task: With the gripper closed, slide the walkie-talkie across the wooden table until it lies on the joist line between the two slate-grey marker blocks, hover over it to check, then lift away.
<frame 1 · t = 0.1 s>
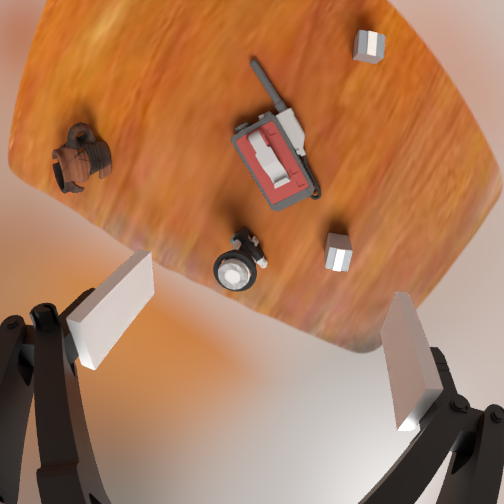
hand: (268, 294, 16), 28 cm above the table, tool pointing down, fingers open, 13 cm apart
push button: (252, 245, 46), on the table
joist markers: (353, 149, 38), on the table
pottery mug: (91, 154, 45), on the table
walkie-talkie: (270, 136, 40), on the table
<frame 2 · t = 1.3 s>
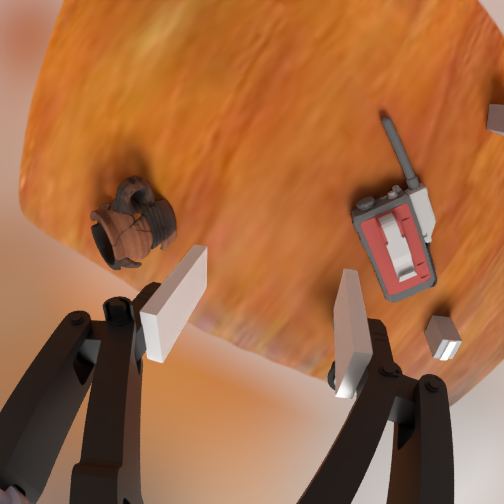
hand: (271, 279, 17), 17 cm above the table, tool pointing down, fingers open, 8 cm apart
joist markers: (473, 231, 30), on the table
pottery mug: (144, 213, 37), on the table
walkie-talkie: (391, 213, 32), on the table
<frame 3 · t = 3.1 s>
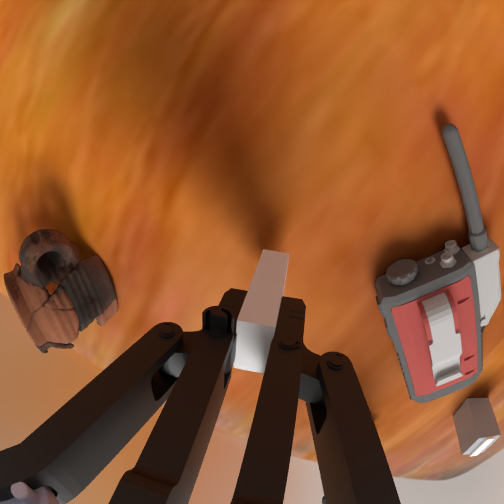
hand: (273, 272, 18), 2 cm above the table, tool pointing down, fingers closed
pottery mug: (76, 269, 24), on the table
walkie-talkie: (435, 280, 19), on the table
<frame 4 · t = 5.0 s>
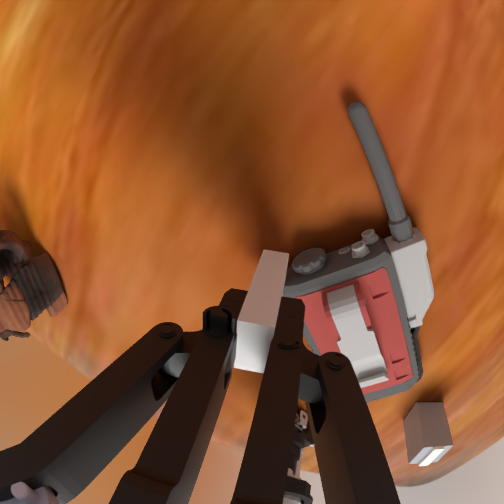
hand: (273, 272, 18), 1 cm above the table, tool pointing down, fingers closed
push button: (295, 416, 26), on the table
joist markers: (491, 292, 17), on the table
pottery mug: (34, 266, 25), on the table
walkie-talkie: (359, 274, 19), on the table
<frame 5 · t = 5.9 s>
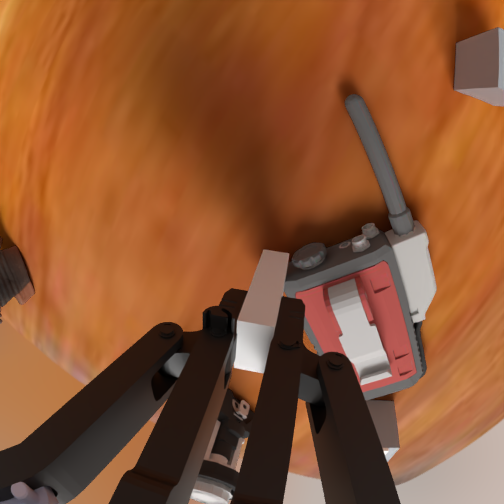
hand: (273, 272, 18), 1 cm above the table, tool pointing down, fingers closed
push button: (239, 406, 27), on the table
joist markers: (432, 282, 18), on the table
pottery mug: (7, 259, 26), on the table
walkie-talkie: (360, 269, 19), on the table, touching gripper
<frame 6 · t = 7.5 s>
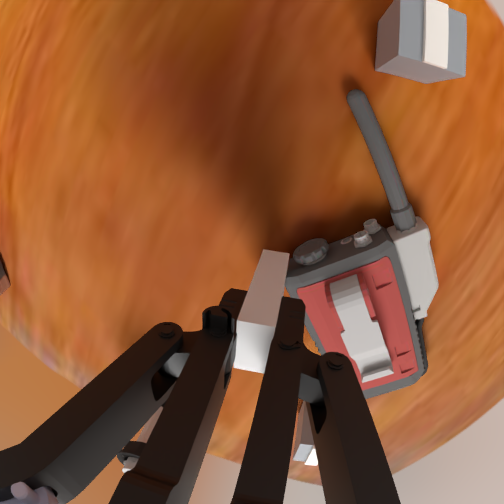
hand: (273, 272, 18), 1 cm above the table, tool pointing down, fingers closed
push button: (188, 395, 28), on the table
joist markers: (363, 275, 19), on the table
walkie-talkie: (361, 265, 19), on the table
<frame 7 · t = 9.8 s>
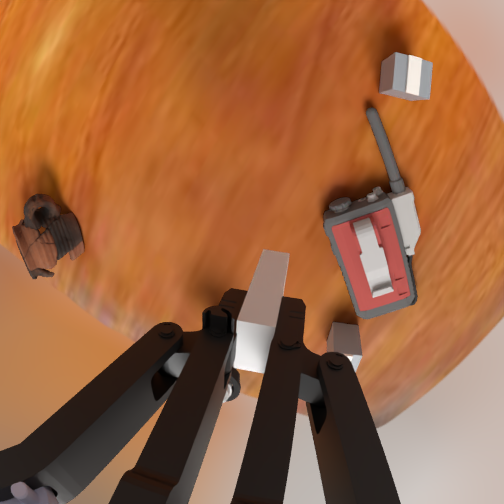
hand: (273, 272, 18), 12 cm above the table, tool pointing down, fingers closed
push button: (238, 332, 37), on the table
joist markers: (373, 222, 28), on the table
pottery mug: (59, 225, 36), on the table
walkie-talkie: (370, 218, 29), on the table
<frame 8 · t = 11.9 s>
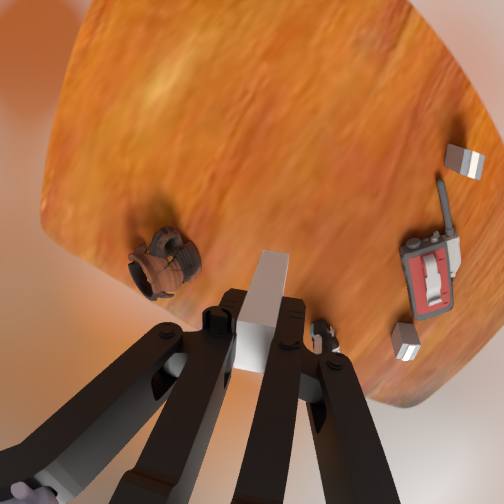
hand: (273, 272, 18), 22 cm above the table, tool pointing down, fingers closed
push button: (326, 332, 47), on the table
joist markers: (431, 253, 38), on the table
pottery mug: (172, 251, 46), on the table
walkie-talkie: (428, 251, 39), on the table
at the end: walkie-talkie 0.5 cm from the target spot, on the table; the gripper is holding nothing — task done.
